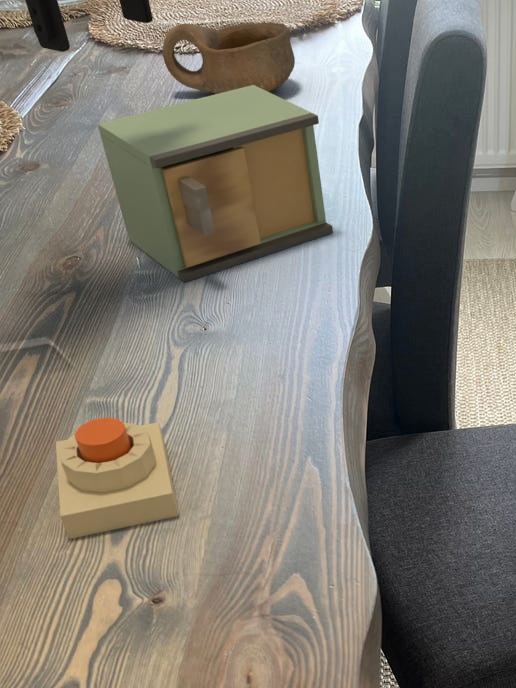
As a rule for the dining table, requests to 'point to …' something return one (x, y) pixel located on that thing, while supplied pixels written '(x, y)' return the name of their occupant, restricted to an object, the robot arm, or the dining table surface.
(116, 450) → the light button
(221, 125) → the cupboard
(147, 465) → the switch block
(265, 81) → the brown clay cup
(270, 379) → the dining table surface
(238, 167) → the cupboard door
